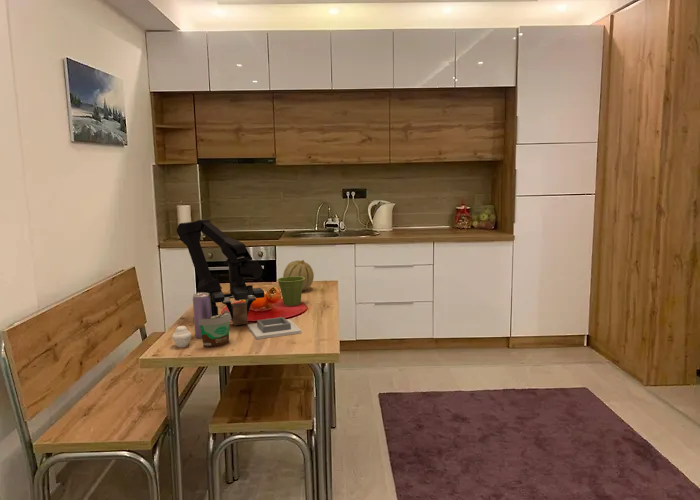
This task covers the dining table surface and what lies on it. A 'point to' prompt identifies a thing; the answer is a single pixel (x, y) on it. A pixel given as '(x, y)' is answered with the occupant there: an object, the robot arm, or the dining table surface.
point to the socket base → (273, 328)
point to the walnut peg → (239, 313)
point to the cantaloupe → (300, 272)
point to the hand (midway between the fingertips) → (239, 317)
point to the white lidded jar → (181, 336)
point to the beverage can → (201, 310)
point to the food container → (215, 330)
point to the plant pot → (291, 289)
